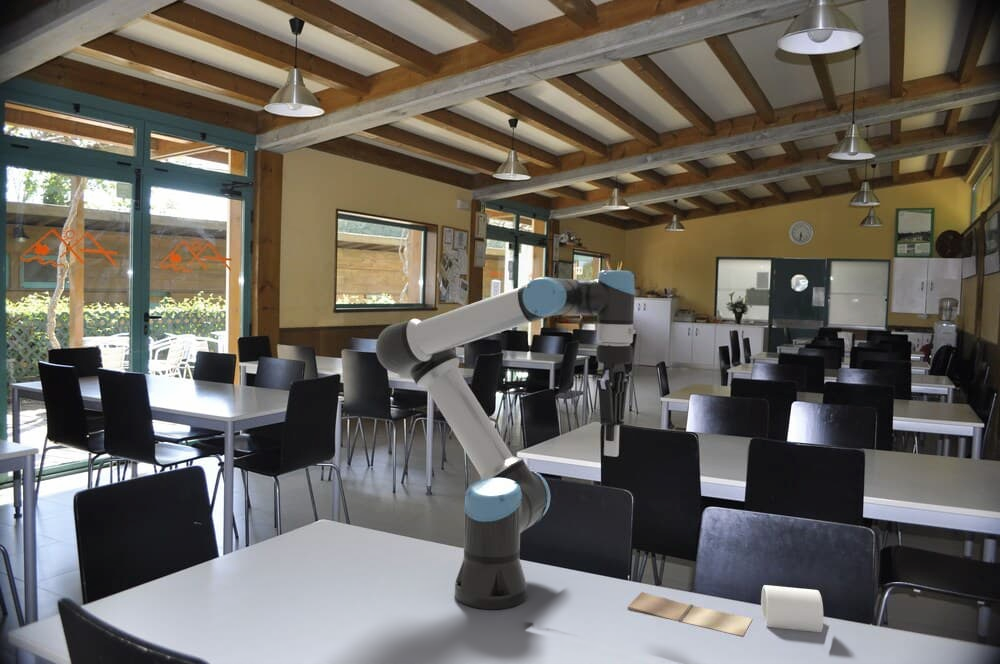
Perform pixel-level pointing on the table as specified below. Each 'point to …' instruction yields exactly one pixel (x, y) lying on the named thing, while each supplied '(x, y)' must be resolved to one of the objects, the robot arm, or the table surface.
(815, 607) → the mug
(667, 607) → the plank
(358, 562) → the table surface
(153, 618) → the table surface
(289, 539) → the table surface
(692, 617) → the floorboard
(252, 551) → the table surface
